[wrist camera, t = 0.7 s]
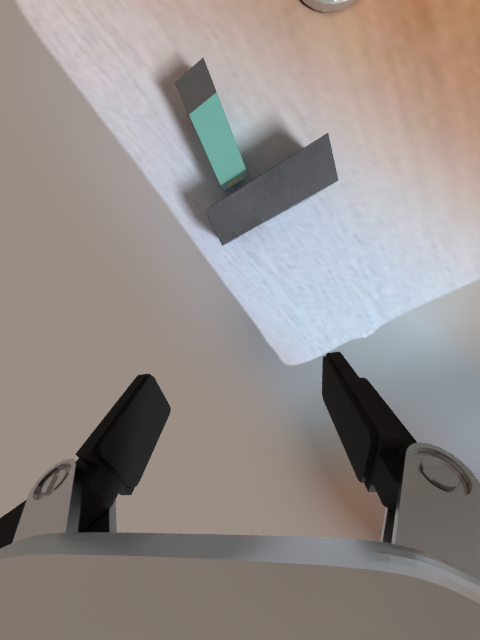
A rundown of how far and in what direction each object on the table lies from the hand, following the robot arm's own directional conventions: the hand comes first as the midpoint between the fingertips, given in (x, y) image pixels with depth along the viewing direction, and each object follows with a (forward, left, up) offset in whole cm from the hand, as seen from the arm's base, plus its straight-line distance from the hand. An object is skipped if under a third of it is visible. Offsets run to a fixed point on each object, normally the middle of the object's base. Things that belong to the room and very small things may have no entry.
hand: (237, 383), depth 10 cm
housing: (-12, +1, -27) cm, 30 cm away
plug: (-18, -7, -27) cm, 34 cm away
